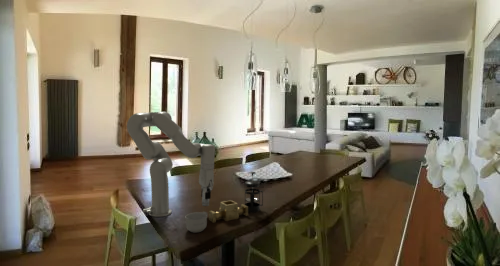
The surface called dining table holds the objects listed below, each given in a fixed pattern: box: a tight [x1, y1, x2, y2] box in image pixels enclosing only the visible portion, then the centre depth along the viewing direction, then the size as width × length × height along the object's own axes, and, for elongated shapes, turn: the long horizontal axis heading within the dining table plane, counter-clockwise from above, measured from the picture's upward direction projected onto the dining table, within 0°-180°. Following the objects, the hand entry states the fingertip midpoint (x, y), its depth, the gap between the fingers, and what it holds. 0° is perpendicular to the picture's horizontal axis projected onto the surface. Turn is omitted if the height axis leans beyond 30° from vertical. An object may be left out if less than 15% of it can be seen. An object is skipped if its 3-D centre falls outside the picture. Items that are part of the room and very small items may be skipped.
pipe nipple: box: [201, 186, 210, 207], centre depth 190 cm, size 4×4×12 cm
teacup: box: [184, 211, 209, 234], centre depth 169 cm, size 14×11×8 cm
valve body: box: [208, 199, 249, 224], centre depth 186 cm, size 22×8×8 cm, turn 123°
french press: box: [244, 171, 264, 213], centre depth 199 cm, size 12×9×23 cm
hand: (205, 197), depth 190 cm, fingers closed on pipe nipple, 4 cm apart
